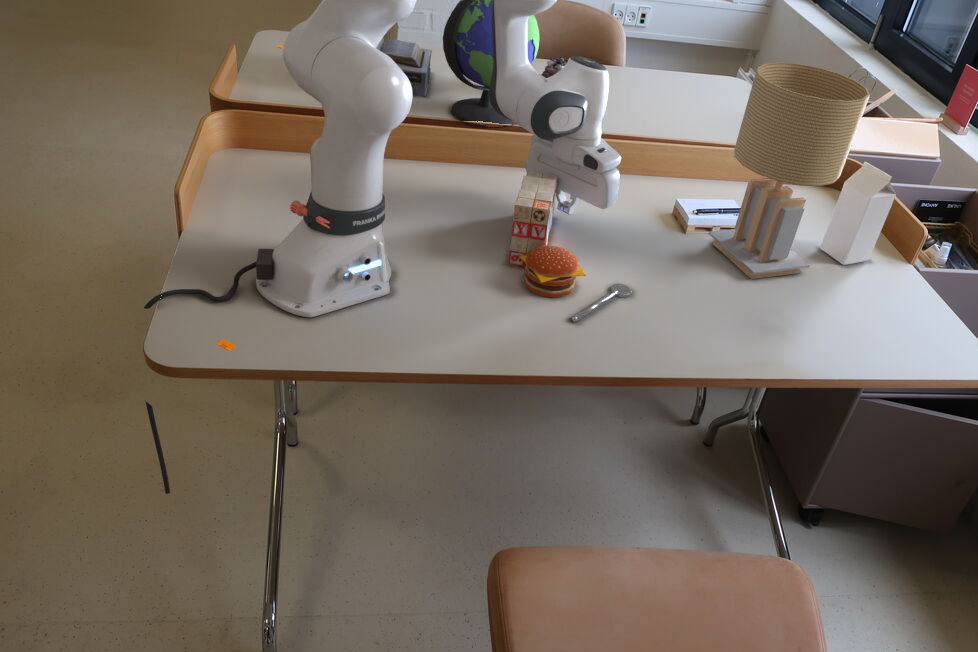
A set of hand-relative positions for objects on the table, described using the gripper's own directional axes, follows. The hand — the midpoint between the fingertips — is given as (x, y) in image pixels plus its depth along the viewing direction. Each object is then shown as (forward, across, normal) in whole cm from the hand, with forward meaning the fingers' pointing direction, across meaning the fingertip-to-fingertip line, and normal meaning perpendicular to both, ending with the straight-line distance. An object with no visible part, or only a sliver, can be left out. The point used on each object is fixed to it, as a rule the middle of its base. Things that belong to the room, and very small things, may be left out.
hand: (565, 211), depth 164 cm
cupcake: (+2, -47, +58) cm, 75 cm away
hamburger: (+2, +13, -22) cm, 25 cm away
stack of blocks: (+2, +1, -12) cm, 12 cm away
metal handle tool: (+2, +23, -20) cm, 31 cm away
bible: (+2, -80, +25) cm, 84 cm away
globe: (+2, -48, +30) cm, 57 cm away
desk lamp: (+2, +34, +18) cm, 39 cm away
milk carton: (+2, +46, +35) cm, 58 cm away
